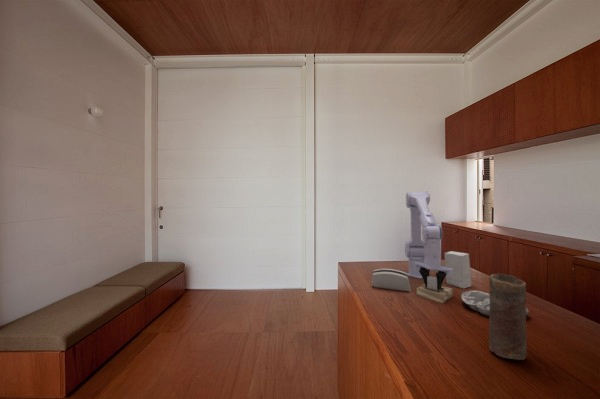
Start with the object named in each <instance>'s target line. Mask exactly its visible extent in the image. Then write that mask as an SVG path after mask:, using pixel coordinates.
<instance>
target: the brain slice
mask: <svg viewBox="0 0 600 399" xmlns="http://www.w3.org/2000/svg"><path fill="white" fill-rule="evenodd" d="M460 298H461V300H462V302H463V304H465V305H467V306H468V307H469V308H470V309H471V310H473V311H475V312H479V313H480V314H482V315H484V316H488V317H490V293H487V292H484V291H481V290H469V291H463V292H461V294H460ZM529 313H530V309H529V308H527V307H526V315H528V314H529Z"/></svg>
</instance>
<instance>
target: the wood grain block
mask: <svg viewBox="0 0 600 399" xmlns="http://www.w3.org/2000/svg"><path fill="white" fill-rule="evenodd" d="M427 289H428V290H432V291H436V292H441V290H437V278H436V276H431V275H429V276H427Z"/></svg>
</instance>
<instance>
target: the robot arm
mask: <svg viewBox="0 0 600 399" xmlns="http://www.w3.org/2000/svg"><path fill="white" fill-rule="evenodd" d="M430 201H431V194H430V193H429V191H428V190H427V191H411V192H409V191H408V192H407V193H406V194H405V205H406V208H408V209H409V211H410V239H408V240H407V241H406V242H405V246H404V253H405V256H406V258H408V272H406V273H407V274H408V277H413V278H416V279H421V280H422V281H423V283H424V284H425V287H427V276H430V271H434V272H435V277H436V278H437V290H441V287H442V286H443V283H444V280H445V279H446V275H447V273H448V274H450V275H452V274H453V269H452V268H448V267H445V265H441V264H442V263H441V240H442V238H443V229H442V228H443V227H442V226H441V225H440V224H439V223H437V221H436V219H435V216H434V214H433V213H432V212H430V210H429V206H428V205H429V204H430Z"/></svg>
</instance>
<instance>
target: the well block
mask: <svg viewBox="0 0 600 399" xmlns="http://www.w3.org/2000/svg"><path fill="white" fill-rule="evenodd" d="M453 290H454V289H453V288H451V287H446V286H443V285H442V287H441V292H436V291H432V290H428V289H427V287H425V283H424V284H422V285H420V286H419V287H416V296H417V297H421V298H424V299H427V300H430V301H431V300H432V301H434V302H437V303H441V304H444V303H446V301H448V300H450V299H451V298H452V297H453V296H454V293H453V292H454V291H453Z"/></svg>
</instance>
